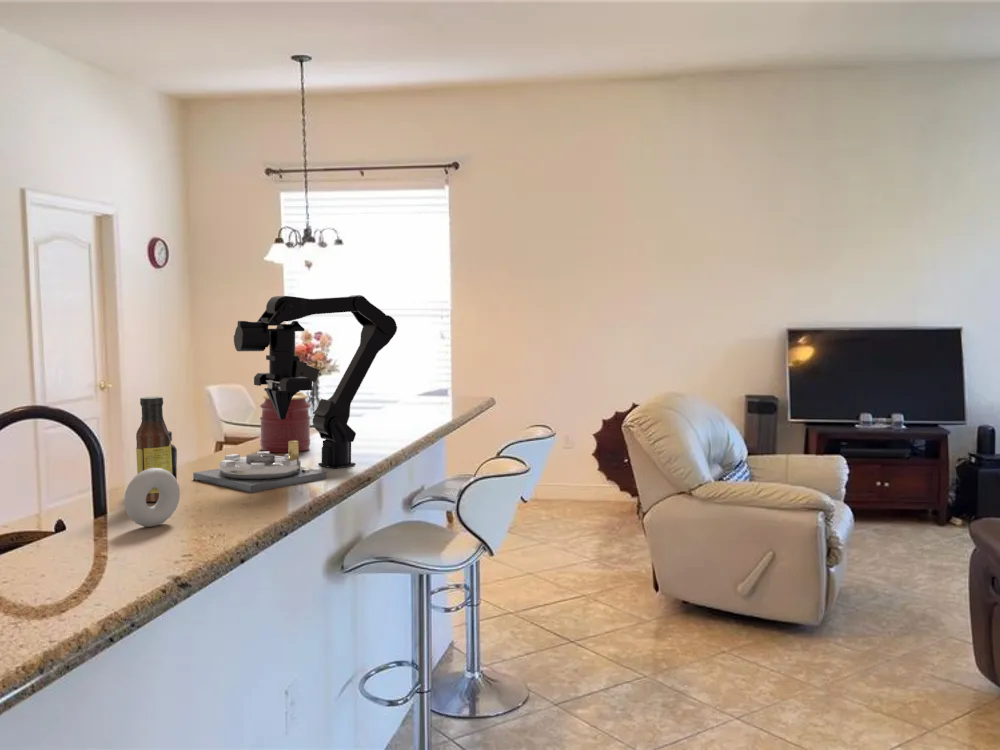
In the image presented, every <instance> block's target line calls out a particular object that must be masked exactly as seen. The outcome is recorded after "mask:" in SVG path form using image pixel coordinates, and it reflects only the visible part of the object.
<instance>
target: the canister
mask: <svg viewBox="0 0 1000 750" xmlns="http://www.w3.org/2000/svg"><path fill="white" fill-rule="evenodd" d="M262 397H263V399H264V401H263V403H261V404H260V405H259V406H260V409H261V416H260V418H259V420H260V444H259V445H260V450H262V452H265V451H270V453H278V454H279V453H280V454H282V453H283V454H288V442H289V441H299V453H300V452H304V451H308V450H309V449H310V446H311V434H310V433H311V431H310V429H311V428H310V427H311V422H310V421H311V416H310V415H309V409H310V408H311V404H310V403H309V402H307V398H308V395H306V394H305V393H303V392H302V391H300V392H297V393H296V394H295V395H294V396H293V397H292V399H291V402H290V405H289V408H288V411H287V415H286V418H285V419H283V420H281V419H279V417H278V415H277V413H276V411H275V408H274V406H273V404H272V402H271V400H270V398H269V396H268V394H267V393H266V394H265V395H264V396H262Z"/></svg>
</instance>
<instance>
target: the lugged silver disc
mask: <svg viewBox="0 0 1000 750" xmlns="http://www.w3.org/2000/svg"><path fill="white" fill-rule="evenodd" d="M283 454H284V455H282V456H281V455H275V454H274V453H271V452H270V451H257V452H256V453H250V454H249V453H248V454H246V455H245V456H241V455H240V454H236V453H235V454H234V453H232V454H227V455H226V454H225V455H224V460H220V461H221V462H219V469H220V474H221V475H223V476H226V477H231V478H240V479H267V478H278V477H285V476H290V475H294V474H297V473H299V472H300V471H301V467H302V466H301V460H300V457H299V455H300V452H299V441H289V442H288V453H283Z"/></svg>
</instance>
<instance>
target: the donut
mask: <svg viewBox="0 0 1000 750" xmlns="http://www.w3.org/2000/svg"><path fill="white" fill-rule="evenodd" d="M154 487H156V488H157V489H158V490H159V499H158V501H157V502H155V503H154V505H152V506H149V505H148V504H147V502H146V496H147V494H148V492H149V491H150V490H151V489H152V488H154ZM180 496H181V491H180V484H179V483H178V479H177V480H176V478H175V477H174V476H173V475H172V474H171V473H170V472H169V471H167V470H164V469H162V468H149V469H147V470H144V471H142V472H140V473H139V474H136V475H135V476H134V477H133V478H132V479H131V481H130V482H129V483H128V485H127V487H126V490H125V493H124V500H123V504H124V510H125V512H126V514H127V515H128V518H129V519H130V520H131V521H132V522H134V523H135V524H136V525H138V526H142V527H143V528H145V527H148V528H149V527H157V526H158V525H161V524H163V523H165V522H166V521H167V520H169V519H170V518H171V517H172V516H173V514H174V513H175V511H176V510H177V507H178V505H179V502H180V498H181V497H180Z"/></svg>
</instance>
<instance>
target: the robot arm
mask: <svg viewBox="0 0 1000 750" xmlns="http://www.w3.org/2000/svg"><path fill="white" fill-rule="evenodd" d="M266 303H267V304H266V307H265V310H264V311H263V313H262V315H260V317H259V318H258V319H257V321H248V320H238V321H237V327H236V328H235V332H234V335H233V343H234V344H233V345H234V348H235V350H236V351H237V352H264V351H265V350H266V348H268V349H269V351H268V354H269V355H265V356H266V357H265V360H266V361H268V362H269V364H268V365H269V367H268V369H269V370H268V371H269V372H257V373H256V374H255V375H254V377H253V385H254V386H256V387H258V386H260V387H261V386H263V385H267V387H265V388H263V389H264V391H265V392H266V395H267V394H268V396H269V398H270V400H271V402H272V404H273V406H274V408H275V411H276V413H277V415H278V417H279V419H281V420H283V419H285V418H286V415H287V411H288V408H289V405H290V402H291V399H292V397H293V396H294V395H295V394H296V393H297V392H302V391H312V390H313V383H314V384H315V383H317V380H318V377H319V373H320V372H321V371H320V368H319V369H318V368H316V367H313V366H311V365H308V363H307V362H305V361H303V360H301V357H300V356H299V355H296V332H305V327H303V326H302V325H300V323H299V321H298V320H299V319H303V318H305V317H308V316H313V315H323V314H324V315H325V314H338V313H352V315H353V317H354V318H355V320H356V321H357V322H358V323H359V325H361V326H362V329H361V331H360V340H359V341H360V342H359V345H358V347H357V349H356V351H355V353H354V355H353V357H352V359H351V361H350V363H349V364H348V366H347V368H346V370H345V371H344V374H343V375H342V377H341V379H340V381H339V383H338V385H337V386H336V389H335V391H334V392H333V393H332V395H331V396H330V397H329V398H328V399H326V398H325V399H324V398H321V399H320V400H319V401H318V405H317V407H316V408H315V410H314V411H313V412H312V415H313V418H312V425H313V427H314V428H315V429H314V430H316V431H317V432H318V433H319V437H320V439H323V440H322V446H321V462H318V464H317V465H318V466H321V467H326V468H331V469H341V468H346V467H352V466H356V465H357V464H356V462H352V443H353V442H354V441H355V439H356V434H357V433H356V431H354V430H353V428H352V427H350V426H349V424H348V422H349V420H350V415H351V404H352V403H353V400H354V398H355V396H356V394H357V392H359V391H358V390H359V388H360V387H361V385H362V383H363V381H364V379H365V377H366V375H367V374H368V371H369V370H370V367H371V365H372V364H373V362H374V360H375V358H376V357H377V354H378V353H379V352H380V351H381V350H382V349H383V348H384V347H386V346H387V345H388V344H389V343H390V341H391V340H392V339H393V337H394V336H395V335H396V333H397V330H398V326H397V322H396V321H395V319H394V318H393V317H392V316H391V315H387V314H386V313H385V312H384V311H382V309H380V308H378V306H375V305H374V304H373V303H371V302H370V301H369V300H368V299H367V298H366V297H365V296H363V294H361V295H359V294H357V295H356V294H354V295H353V294H352V295H350V296H336V297H335V296H334V297H324V298H323V297H321V298H320V297H319V298H306V297H305V298H304V297H297V296H293V295H292V296H291V295H276V296H272V297H271V298H270V299H269V300H268V301H267V302H266ZM284 322H291V323H284ZM270 326H273V327H275V326H276V328H269V327H270Z"/></svg>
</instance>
